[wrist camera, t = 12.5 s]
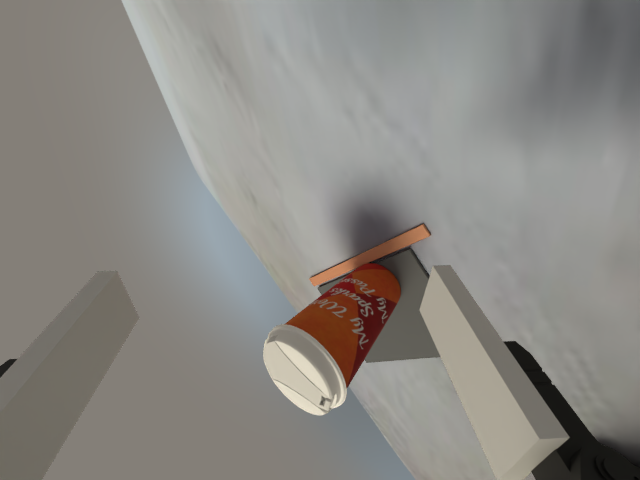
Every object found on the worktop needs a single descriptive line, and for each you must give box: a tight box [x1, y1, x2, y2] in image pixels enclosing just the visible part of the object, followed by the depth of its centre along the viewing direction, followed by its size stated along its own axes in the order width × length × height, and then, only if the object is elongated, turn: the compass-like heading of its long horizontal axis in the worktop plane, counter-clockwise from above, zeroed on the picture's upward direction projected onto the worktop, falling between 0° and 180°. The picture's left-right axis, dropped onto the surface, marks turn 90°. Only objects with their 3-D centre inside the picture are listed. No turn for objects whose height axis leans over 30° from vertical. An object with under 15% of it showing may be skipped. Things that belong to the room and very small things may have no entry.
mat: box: [318, 248, 440, 363], centre depth 33 cm, size 12×15×1 cm
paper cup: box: [263, 263, 401, 415], centre depth 27 cm, size 8×8×14 cm
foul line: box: [310, 224, 431, 286], centre depth 32 cm, size 1×18×1 cm, turn 133°
